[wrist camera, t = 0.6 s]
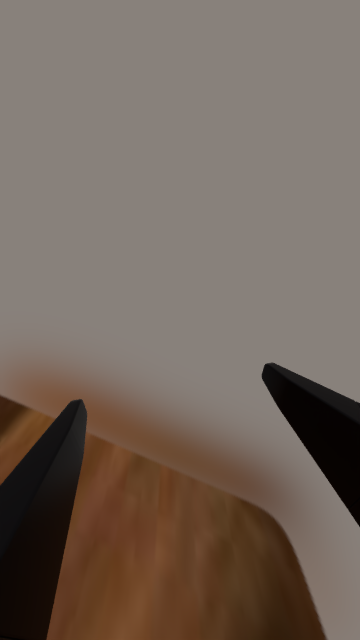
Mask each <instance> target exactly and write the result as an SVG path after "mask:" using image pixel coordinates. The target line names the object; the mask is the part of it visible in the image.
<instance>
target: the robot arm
mask: <svg viewBox="0 0 360 640" xmlns="http://www.w3.org/2000/svg"><path fill="white" fill-rule="evenodd" d="M262 379H263V381H264V383H265V385H266V386H267V388H268V390H269V392H270V394H271V396H272V397H273V399H274V401H275V403H276V404H277V406H278V408H279V409H280V411H281V412H282V414H283V415H284V417H285V418H286V419H287V421H288V422H289V424H290V425H291V427H292V428H293V430H294V431H295V432H296V434H297V436H298V437H299V438H300V440H301V441H302V443H303V444H304V446H305V447H306V449H307V450H308V452H309V453H310V454H311V456H312V457H313V459H314V460H315V462H316V463H317V465H318V466H319V468H320V469H321V471H322V472H323V474H324V475H325V476H326V478H327V479H328V481H329V482H330V484H331V485H332V487H333V488H334V490H335V491H336V492H337V494H338V496H339V497H340V498H341V500H342V501H343V503H344V504H345V506H346V507H347V508H348V510H349V512H350V513H351V515H352V516H353V517H354V519H355V521H356V522H357V524H358V525H359V527H360V403H358V402H355V401H354V400H352V399H350V398H348V397H345V396H343V395H341V394H339V393H337V392H335V391H333V390H331V389H328V388H326V387H324V386H322V385H320V384H317V383H316V382H313V381H311V380H309V379H307V378H305V377H303V376H300V375H298V374H296V373H294V372H292V371H290V370H288V369H286V368H283V367H281V366H279V365H277V364H275V363H267V364H265V365H264V369H263V372H262ZM86 422H87V411H86V408H85V405H84V403H83V400H82V399H79V400H73V401H71V402H70V403H69V404H68V405H67V406H66V408H65V409H64V410H63V411H62V412H61V414H60V415H59V416H58V417H57V418H56V419H55V421H54V422H53V423H52V424H51V425H50V427H49V428H48V429H47V430H46V431H45V433H44V434H43V435H42V436H41V437H40V439H39V440H38V441H37V442H36V443H35V445H34V446H33V447H32V448H31V449H30V451H29V452H28V453H27V454H26V455H25V457H24V458H23V459H22V460H21V461H20V463H19V464H18V465H17V466H16V467H15V469H14V470H13V471H12V472H11V473H10V475H9V476H8V477H7V478H6V479H5V480H4V482H3V483H2V484H1V485H0V640H46V639H47V634H48V629H49V624H50V619H51V614H52V609H53V604H54V599H55V594H56V589H57V584H58V579H59V574H60V569H61V564H62V559H63V554H64V549H65V545H66V540H67V535H68V530H69V525H70V520H71V515H72V510H73V505H74V500H75V495H76V490H77V485H78V480H79V475H80V470H81V465H82V460H83V454H84V444H85V433H86Z"/></svg>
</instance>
